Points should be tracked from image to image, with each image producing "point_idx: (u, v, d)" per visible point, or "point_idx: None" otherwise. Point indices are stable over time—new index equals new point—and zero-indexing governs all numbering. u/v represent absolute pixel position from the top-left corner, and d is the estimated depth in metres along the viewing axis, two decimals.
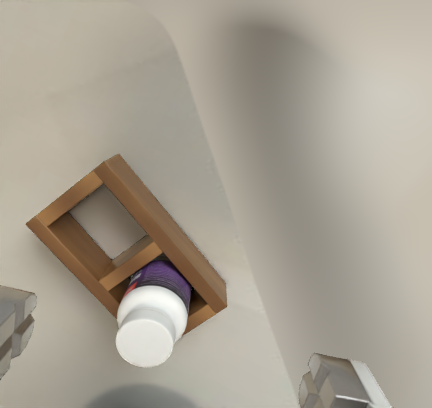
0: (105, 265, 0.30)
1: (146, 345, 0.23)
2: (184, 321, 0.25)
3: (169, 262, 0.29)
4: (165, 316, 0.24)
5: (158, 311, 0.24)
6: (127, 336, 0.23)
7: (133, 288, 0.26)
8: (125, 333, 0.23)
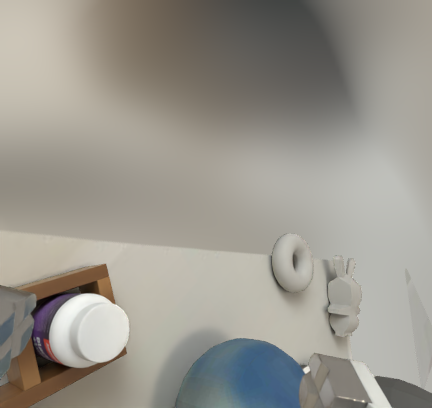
0: (11, 386, 0.26)
1: (107, 330, 0.24)
2: (101, 296, 0.27)
3: (39, 307, 0.28)
4: (87, 306, 0.24)
5: (80, 312, 0.24)
6: (91, 346, 0.23)
7: (48, 341, 0.24)
8: (87, 347, 0.23)
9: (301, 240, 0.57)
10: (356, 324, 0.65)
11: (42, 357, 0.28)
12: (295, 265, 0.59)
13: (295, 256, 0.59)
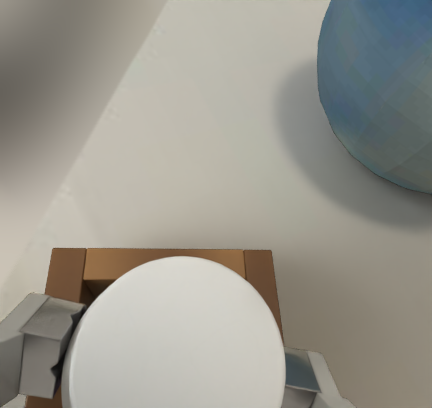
0: None
1: (181, 350, 0.06)
2: (93, 304, 0.09)
3: None
4: None
5: None
6: None
7: None
8: None
9: None
10: None
11: None
12: None
13: None
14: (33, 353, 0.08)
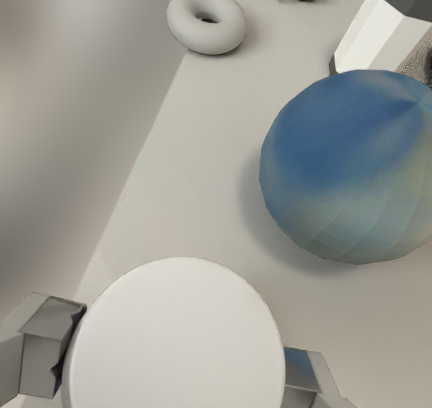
0: None
1: (181, 349, 0.06)
2: (93, 304, 0.09)
3: None
4: None
5: None
6: None
7: None
8: None
9: None
10: None
11: None
12: (213, 18, 0.43)
13: (200, 14, 0.42)
14: (33, 353, 0.08)
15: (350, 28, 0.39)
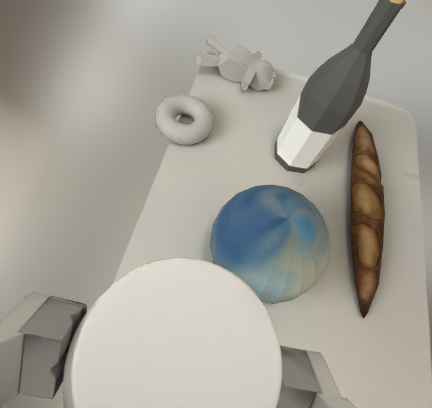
0: None
1: (180, 349, 0.06)
2: (94, 305, 0.09)
3: None
4: None
5: None
6: None
7: None
8: None
9: (165, 103, 0.57)
10: (268, 64, 0.65)
11: None
12: (189, 115, 0.59)
13: (179, 113, 0.59)
14: (33, 353, 0.08)
15: (284, 126, 0.56)
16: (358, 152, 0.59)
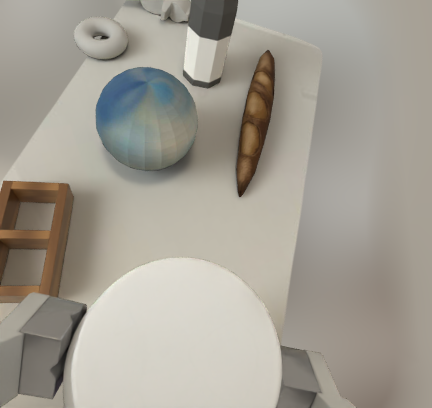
0: None
1: (180, 347, 0.06)
2: (94, 304, 0.09)
3: None
4: None
5: None
6: None
7: None
8: None
9: (83, 22, 0.64)
10: None
11: None
12: (107, 36, 0.67)
13: (98, 33, 0.66)
14: (33, 353, 0.08)
15: None
16: (257, 70, 0.66)
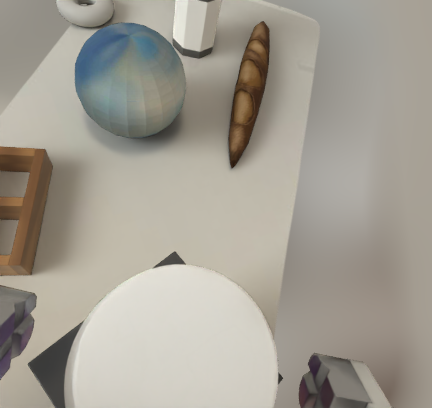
0: None
1: (179, 354, 0.07)
2: (94, 309, 0.09)
3: None
4: None
5: None
6: None
7: None
8: None
9: None
10: None
11: None
12: (92, 3, 0.63)
13: (82, 0, 0.62)
14: None
15: None
16: (250, 39, 0.63)
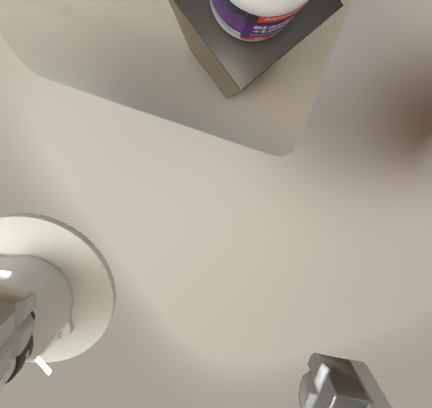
0: None
1: None
2: None
3: (217, 12, 0.19)
4: None
5: None
6: None
7: (261, 17, 0.15)
8: None
9: None
10: None
11: (287, 23, 0.19)
12: None
13: None
14: None
15: None
16: None
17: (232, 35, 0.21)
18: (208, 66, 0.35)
